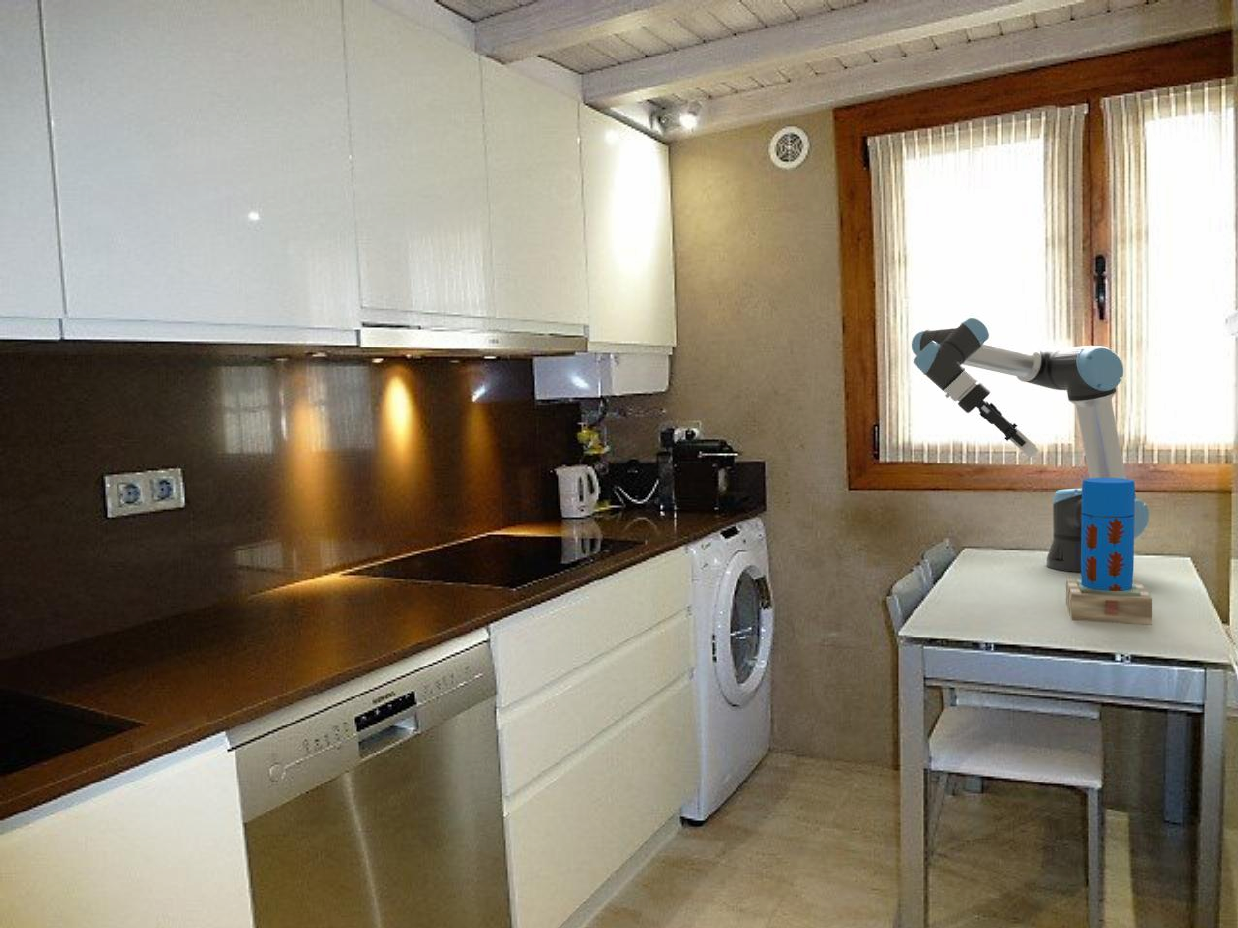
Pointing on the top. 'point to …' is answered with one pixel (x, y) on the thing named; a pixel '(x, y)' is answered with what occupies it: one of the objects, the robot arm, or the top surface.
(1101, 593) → the wooden box
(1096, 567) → the thermos
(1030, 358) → the robot arm
